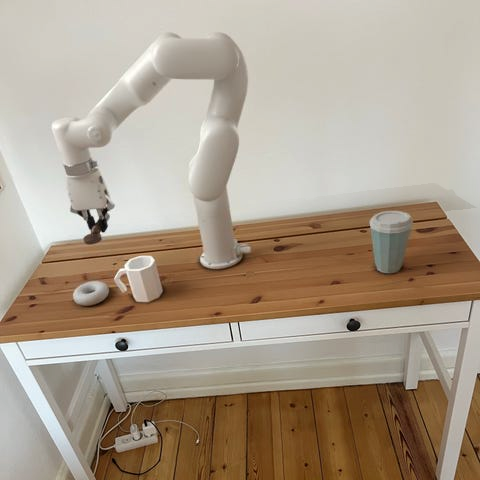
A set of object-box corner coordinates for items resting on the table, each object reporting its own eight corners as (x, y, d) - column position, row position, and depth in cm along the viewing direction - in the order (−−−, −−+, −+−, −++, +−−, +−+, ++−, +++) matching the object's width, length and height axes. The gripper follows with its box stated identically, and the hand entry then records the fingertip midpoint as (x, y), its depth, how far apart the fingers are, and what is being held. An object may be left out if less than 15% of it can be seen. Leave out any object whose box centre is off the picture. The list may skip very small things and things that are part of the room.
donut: (96, 310, 145) (117, 290, 152) (92, 300, 143) (113, 280, 150) (67, 305, 149) (89, 286, 156) (63, 295, 147) (86, 276, 154)
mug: (162, 283, 152) (155, 253, 147) (162, 299, 145) (154, 268, 139) (121, 291, 152) (111, 260, 146) (118, 307, 145) (108, 276, 139)
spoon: (100, 219, 158) (97, 211, 157) (115, 217, 157) (113, 210, 156) (82, 245, 145) (79, 237, 143) (99, 243, 144) (96, 235, 143)
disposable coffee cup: (362, 263, 147) (362, 212, 138) (398, 254, 148) (400, 203, 139) (379, 281, 138) (380, 228, 129) (418, 271, 139) (421, 218, 131)
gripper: (112, 159, 142) (130, 222, 153) (56, 165, 145) (77, 227, 155) (104, 169, 136) (123, 234, 147) (45, 175, 139) (68, 239, 149)
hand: (99, 230), depth 151 cm, fingers closed on spoon, 2 cm apart
